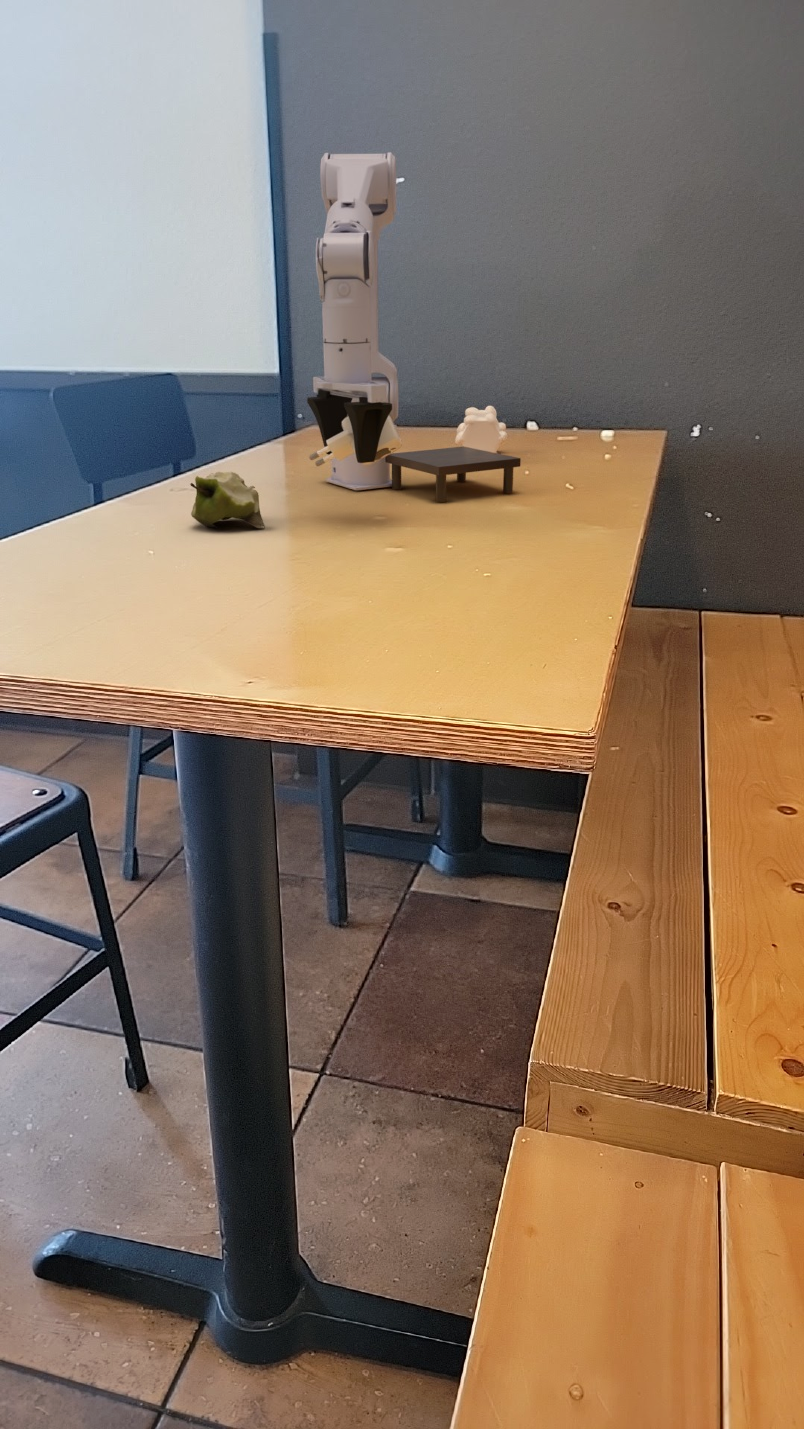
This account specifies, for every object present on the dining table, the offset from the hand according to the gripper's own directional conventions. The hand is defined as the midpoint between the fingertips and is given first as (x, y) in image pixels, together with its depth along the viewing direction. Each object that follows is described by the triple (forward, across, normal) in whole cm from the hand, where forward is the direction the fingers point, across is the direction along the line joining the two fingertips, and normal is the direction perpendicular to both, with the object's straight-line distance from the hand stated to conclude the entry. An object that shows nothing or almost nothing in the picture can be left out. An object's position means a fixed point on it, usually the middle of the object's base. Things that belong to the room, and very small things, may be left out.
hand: (349, 457), depth 132 cm
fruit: (+8, -6, -14) cm, 18 cm away
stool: (+8, -10, +23) cm, 26 cm away
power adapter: (+1, +2, +1) cm, 2 cm away
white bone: (+8, -33, +45) cm, 56 cm away
